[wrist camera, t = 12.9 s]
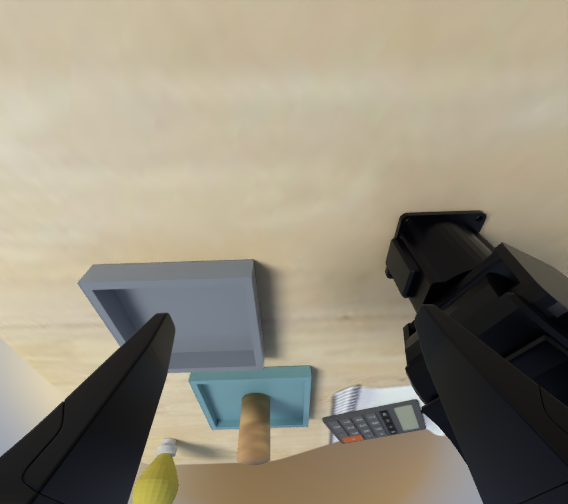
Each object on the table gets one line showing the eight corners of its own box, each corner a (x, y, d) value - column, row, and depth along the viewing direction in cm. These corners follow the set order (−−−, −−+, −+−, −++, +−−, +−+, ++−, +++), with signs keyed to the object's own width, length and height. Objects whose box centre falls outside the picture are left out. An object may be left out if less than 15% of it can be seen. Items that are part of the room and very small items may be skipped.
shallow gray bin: (253, 259, 24) (251, 277, 22) (264, 351, 32) (263, 369, 30) (92, 264, 24) (77, 283, 22) (146, 355, 32) (138, 373, 30)
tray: (310, 365, 34) (311, 377, 33) (307, 416, 43) (308, 426, 42) (191, 369, 34) (188, 381, 33) (213, 419, 43) (211, 429, 42)
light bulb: (154, 430, 46) (128, 511, 38) (193, 437, 48) (176, 515, 40) (146, 443, 49) (120, 520, 41) (182, 449, 51) (165, 523, 43)
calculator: (322, 421, 43) (418, 402, 40) (321, 415, 44) (415, 396, 41) (342, 445, 50) (426, 430, 47) (341, 439, 51) (424, 424, 47)
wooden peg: (269, 392, 37) (269, 452, 32) (270, 405, 40) (270, 464, 34) (240, 393, 37) (235, 454, 31) (242, 406, 39) (238, 465, 34)
